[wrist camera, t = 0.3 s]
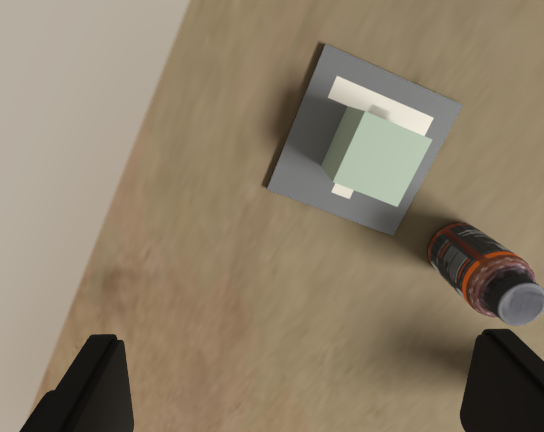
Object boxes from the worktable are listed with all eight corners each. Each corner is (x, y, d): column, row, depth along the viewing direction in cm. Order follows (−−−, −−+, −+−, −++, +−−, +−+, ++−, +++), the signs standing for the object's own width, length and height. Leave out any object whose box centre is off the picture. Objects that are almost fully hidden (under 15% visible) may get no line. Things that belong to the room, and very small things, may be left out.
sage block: (347, 105, 35) (365, 111, 30) (405, 130, 36) (432, 139, 31) (321, 166, 37) (332, 182, 32) (376, 187, 38) (397, 206, 33)
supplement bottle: (427, 276, 42) (484, 343, 32) (424, 227, 41) (484, 280, 30) (481, 266, 42) (557, 329, 32) (480, 216, 40) (562, 265, 30)
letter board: (324, 44, 34) (325, 43, 34) (459, 104, 36) (463, 105, 36) (266, 187, 38) (266, 189, 38) (391, 234, 41) (393, 236, 40)
